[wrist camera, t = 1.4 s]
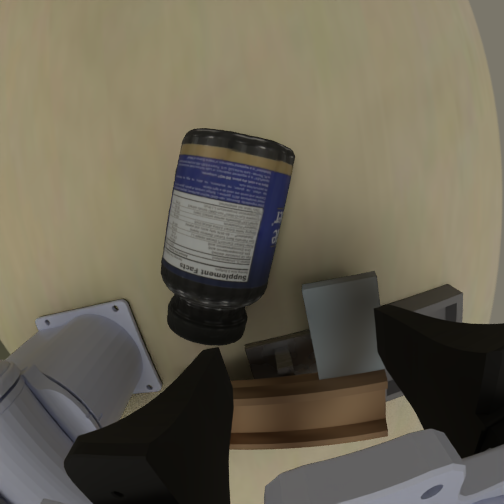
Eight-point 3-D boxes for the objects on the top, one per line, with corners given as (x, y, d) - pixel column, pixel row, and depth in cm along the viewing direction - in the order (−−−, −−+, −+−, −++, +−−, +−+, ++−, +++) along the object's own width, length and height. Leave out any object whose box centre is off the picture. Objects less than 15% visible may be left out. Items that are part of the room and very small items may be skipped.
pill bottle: (282, 153, 20) (248, 311, 22) (188, 134, 19) (162, 298, 21) (311, 147, 14) (261, 359, 17) (179, 120, 13) (147, 343, 16)
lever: (199, 430, 22) (188, 452, 20) (146, 308, 20) (126, 326, 17) (384, 416, 19) (388, 442, 16) (374, 271, 16) (383, 289, 14)
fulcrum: (266, 413, 24) (268, 440, 21) (245, 344, 23) (244, 369, 19) (325, 399, 24) (334, 425, 21) (312, 328, 22) (322, 351, 19)
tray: (371, 388, 24) (379, 403, 22) (364, 311, 22) (374, 323, 20) (446, 360, 23) (457, 372, 21) (447, 283, 22) (462, 293, 20)
